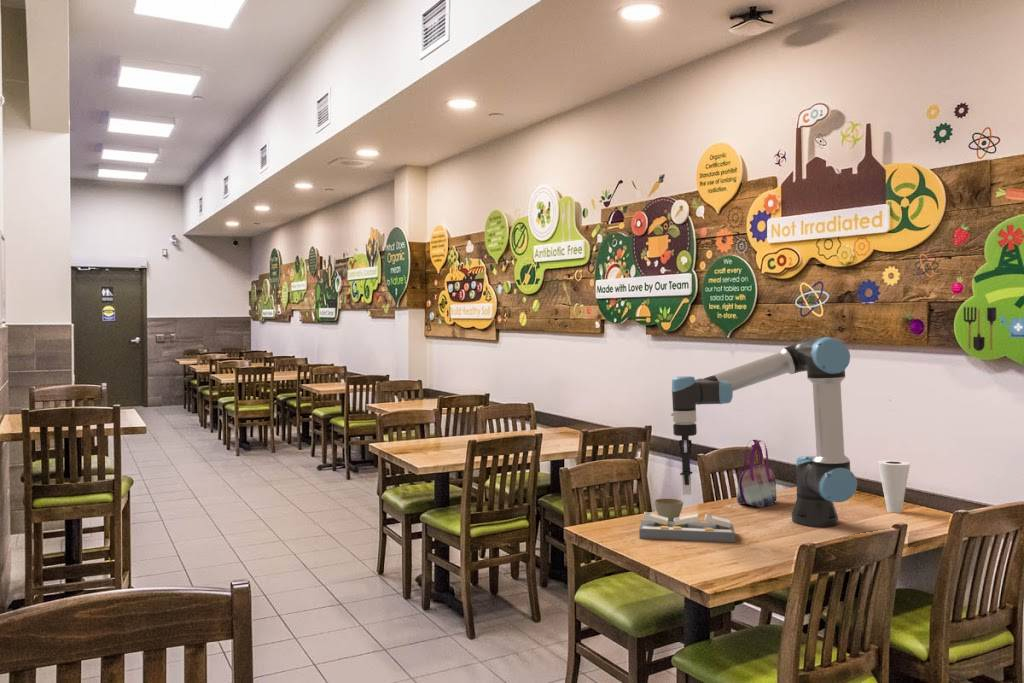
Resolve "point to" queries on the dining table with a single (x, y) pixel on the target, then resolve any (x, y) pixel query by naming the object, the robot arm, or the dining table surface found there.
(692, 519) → the rocker
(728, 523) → the rocker
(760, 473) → the handbag
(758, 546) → the dining table surface
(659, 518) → the rocker
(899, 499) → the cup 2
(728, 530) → the switch unit
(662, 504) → the flower pot
